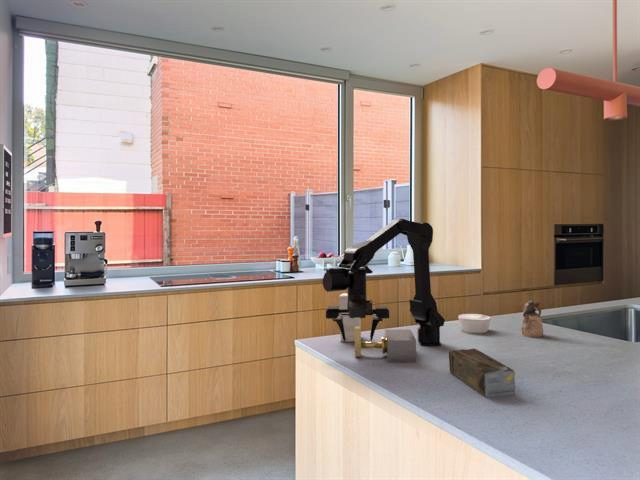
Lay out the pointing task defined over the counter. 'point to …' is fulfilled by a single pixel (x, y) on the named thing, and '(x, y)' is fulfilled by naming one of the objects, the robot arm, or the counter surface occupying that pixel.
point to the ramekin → (474, 323)
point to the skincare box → (348, 320)
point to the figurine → (532, 320)
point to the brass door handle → (368, 343)
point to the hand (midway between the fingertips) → (357, 340)
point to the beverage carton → (482, 372)
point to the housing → (400, 346)
